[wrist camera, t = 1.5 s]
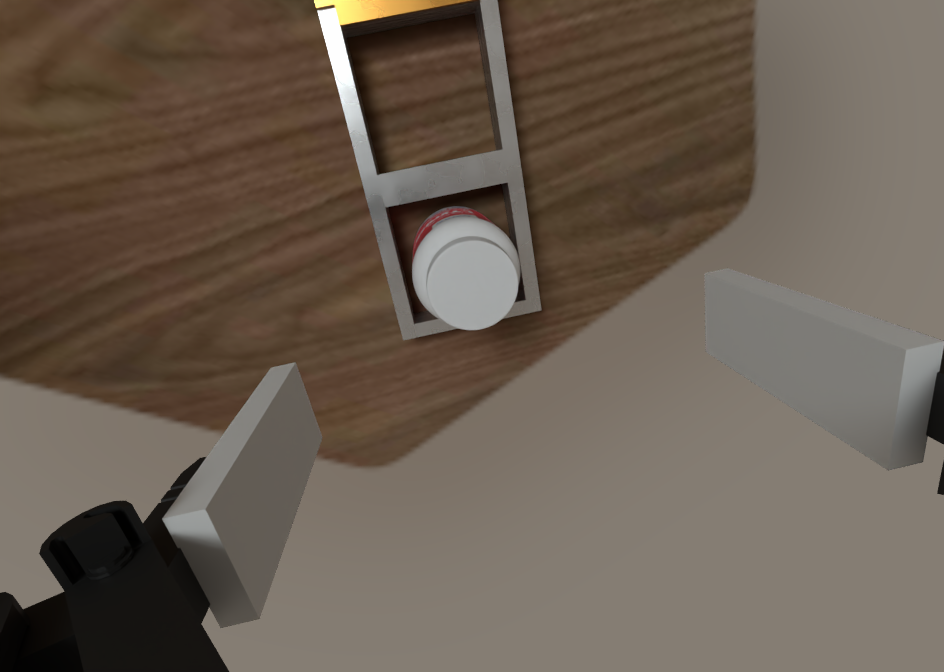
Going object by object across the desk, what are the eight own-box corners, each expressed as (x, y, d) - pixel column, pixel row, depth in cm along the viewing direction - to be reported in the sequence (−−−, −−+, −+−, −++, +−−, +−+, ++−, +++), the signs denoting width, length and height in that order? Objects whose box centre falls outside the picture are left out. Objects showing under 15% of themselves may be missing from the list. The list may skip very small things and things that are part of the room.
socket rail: (404, 328, 36) (403, 341, 33) (269, -198, 25) (251, -240, 22) (533, 300, 36) (542, 311, 33) (454, -229, 25) (459, -274, 23)
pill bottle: (466, 186, 33) (490, 197, 22) (514, 258, 35) (556, 298, 24) (394, 240, 33) (385, 274, 23) (446, 307, 35) (458, 366, 25)
